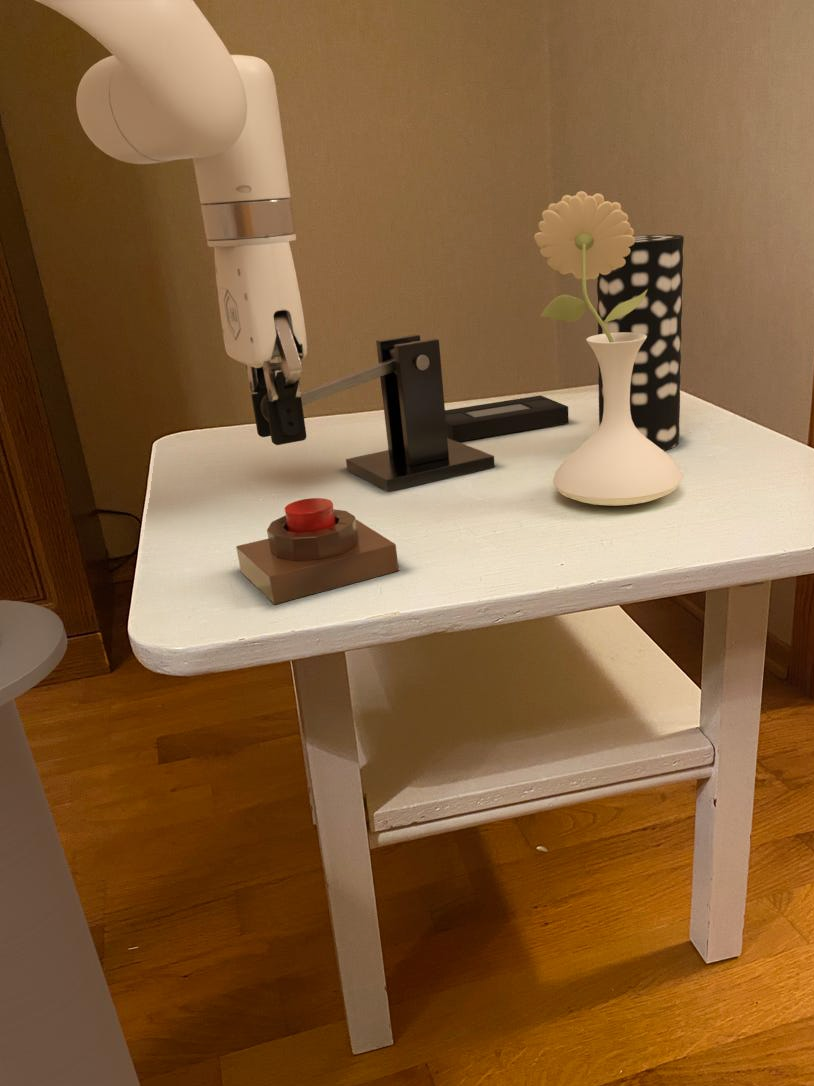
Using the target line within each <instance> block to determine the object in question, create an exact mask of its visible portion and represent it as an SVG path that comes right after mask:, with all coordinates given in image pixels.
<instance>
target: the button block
mask: <svg viewBox="0 0 814 1086" xmlns="http://www.w3.org/2000/svg"><path fill="white" fill-rule="evenodd" d="M333 509H334V516H335V523H336V525H334V526H332V527H330V528H328V529H324V530H320V531H316V532H304V533H297V532H290V531H288V526H287V520H286V514H284V515H283V516H281V517H279V518H277V519H275V520H272V522H270V524H269V526H268V527H267V529H266V532H267V537H268V538H264V539H261V540H260V539H259V540H256V541H252V542H249V543H245V544H240V545H236V547H235V548H236V552H237V559H238V563H239V568H240V569H239V570H240V572H241V574H243V575H244V576H245V577H246V578H247V579H248V580H249V581H250V582H251V583H252V584H253V585H254V587H256V588H257V589H258V590H259V591H260V592H261V593H262V594H263V595H264V596H265V597H266V598H267V599H268V600H269V601H270V602H271V603H272V604H273V605H279V604H283V603H285V602H289V601H294V600H296V599H297V600H298V599H300V598H303V597H304V598H305V597H308V596H312V595H315V594H319V593H322V592H326V591H329V590H334V589H337V588H340V587H344V586H349V585H351V584H355V583H359V582H363V581H366V580H370V579H373V578H377V577H381V576H384V575H388V574H391V573H395V572H399V562H398V554H397V553H398V551H397V545H396V543H395V542H393V541H392V540H389V539H388V538H386V537H385V536H383V535H382V534H380V533H378V532H377V531H376V530H374V529H373V528H371V527H369V526H367V524H365V523H363V522H361V521H359V520H358V519H357V518H356V516H355V515H353V514H352V513H350V512H349V511H347V510H342V509H335V508H333Z"/></svg>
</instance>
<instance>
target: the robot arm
mask: <svg viewBox="0 0 814 1086" xmlns="http://www.w3.org/2000/svg"><path fill="white" fill-rule="evenodd" d="M34 1H35V2H37V3H40V4H42V5H44V6H46V7H48V8H50V9H52V10H53V11H56V12H57V13H59V14H60V15H62V16H63V17H65V18H67V19H69V20H70V21H72V22H73V23H74V24H76V25H77V26H79V27H80V28H82V30H84V31H85V32H87V33H88V34H89V35H90V36H92V37H93V38H94V39H95V40H96V41H97V42H98V43H100V44H101V45H102V46H103V47H104V48H105V49H106V50H107V51H108V52H109V53H110V54H111V55H110V56H107V57H104V58H103V59H100V60H99V61H98V62H96V63H94V64H93V65H92V66H91V67H89V69H88V70H87V71H86V72H85V73H84V74H83V75H82V78H81V80H80V82H79V84H78V87H77V91H76V98H75V100H76V101H75V105H76V107H75V108H76V113H77V117H78V121H79V123H80V125H81V128H82V129H83V132H84V134H85V135H86V136H87V137H88V139H89V140H90V141H91V142H92V143H93V144H94V146H95V147H96V148H98V149H99V150H100V151H102V152H103V153H104V154H106V155H108V156H109V157H110V158H113V159H115V160H117V161H119V162H120V161H121V162H123V163H128V164H132V165H150V164H151V165H152V164H161V163H168V162H173V161H177V160H179V161H180V160H190V159H192V161H193V168H194V173H195V179H196V185H197V190H198V197H199V201H200V208H201V214H202V219H203V225H204V231H205V237H206V242H207V247H208V248H214V267H215V268H214V269H215V270H214V271H215V282H216V291H217V299H218V307H219V313H220V315H219V316H220V322H221V330H222V337H223V344H224V351H225V353H226V354H227V356H229V358H231V359H232V360H234V361H236V362H238V363H241V364H244V365H246V366H245V368H246V371H247V378H248V386H249V390H250V393H251V394H250V395H251V401H252V407H253V414H254V420H255V425H256V427H255V428H256V432H257V433H256V434H257V435H258V436H259V437H261V438H267V437H270V440H271V442H272V444H274V445H275V446H281V445H287V444H292V443H297V442H303V441H305V440H306V439H307V430H306V429H307V428H306V423H305V422H306V421H305V415H304V408H303V407H304V406H302V400H301V392H302V388H301V382H300V380H301V377H302V375H303V374H304V369H303V363H302V361H303V360H304V359H305V358H306V356H307V355H308V342H307V332H306V331H307V330H306V323H305V317H304V310H303V304H302V298H301V291H300V287H299V282H298V277H297V272H296V267H295V262H294V258H293V254H292V249H291V244H290V242H295V241H297V234H296V227H295V219H294V213H293V204H292V199H291V198H292V197H291V191H290V189H291V188H290V181H289V174H288V168H287V159H286V151H285V144H284V137H283V129H282V122H281V115H280V107H279V101H278V92H277V86H276V81H275V75H274V73H273V70H272V68H271V67H270V65H269V64H268V63H267V62H266V61H265V60H264V59H262V58H260V57H257V56H255V55H254V56H253V55H246V54H230V52H229V50H228V49H227V47H226V45H225V43H224V42H223V41H222V39H221V38H220V36H219V35H218V34H217V32H216V30H215V29H214V27H213V26H212V25H211V23H210V21H208V19H207V17H206V16H205V14H204V13H202V10H200V9H201V8H199V6H198V5H197V4H196V2H195V1H194V0H34ZM279 359H280V360H281V362H280V361H279ZM266 393H268V396H269V399H270V400H268V401H265V402H266V408H267V415H268V421H269V422H268V421H267V420H266V419H265V418H264V416H263V415H262V412H261V401H262V398H263V397H264V395H265V394H266Z"/></svg>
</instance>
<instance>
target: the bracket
mask: <svg viewBox="0 0 814 1086" xmlns="http://www.w3.org/2000/svg"><path fill="white" fill-rule="evenodd" d="M413 341H414V342H413ZM391 349H394V353H395V362H396V372H397V374H395V372H392V373H389V374H386V375H384V376H381V377H379V378H380V387H381V396H382V405H383V414H384V422H385V432H386V440H387V449H386V450H383V451H382V450H381V451H378V452H373V453H368V454H363V455H359V456H354V457H349V458H345V464H346V470H347V471H348V472H350V473H352V474H354V475H355V476H357V477H359V478H361V479H363V480H365V481H367V482H368V483H371V484H372V485H374V486H376V487H378V488H380V489H382V490H384V491H385V492H387V493H390V492H394V491H398V490H403V489H407V488H410V487H412V488H413V487H416V486H419V485H420V486H421V485H424V484H429V483H434V482H438V481H441V480H446V479H449V478H454V477H459V476H463V475H467V474H471V473H476V472H480V471H486V470H488V469H489V470H490V469H492V468H495V467H496V466H495V465H496V464H495V456H494V455H493V454H490V453H487V452H485V451H482V450H480V449H477V448H475V447H472V446H470V445H467V444H465V443H462V442H460V441H459V442H457V441H454V440H452V439H449V438H447V429H446V417H445V410H446V407H445V406H446V405H445V395H444V384H443V371H442V360H441V348H440V339H438V338H429V339H423V340H421V335H419V334H409V335H403V336H397V337H391V338H384V339H378V340H376V352H377V360H378V363H381V362H383V361H386V360H389V359H391V357H390V353H389V350H391Z"/></svg>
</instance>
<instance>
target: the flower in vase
mask: <svg viewBox="0 0 814 1086" xmlns="http://www.w3.org/2000/svg"><path fill="white" fill-rule="evenodd" d="M541 217H542V219H543V220H541V221H540V222H538V224H537V225H538V229H539V231H538V232H536V233H535V234H534V236H533V237H534V241H535V242H536V245H537V246H538V247H539V248H540V251H539V253H540V254H541V256H542V257H544V258H548V259H547V261H546V263H547V265H548V266H549V267H551V269H553V271H557V272H559V274H561V275H568V274H569V273H570V274H572V275H573V277H574V278H575V279H577V280H581V282H582V283H581V285H582V295H583V298H584V300H583V299H581V298H578V297H575V296H573V295H569V294H560V295H558V296H556V297H555V298H553V299H552V300H551V301H550V302H548V303H549V304H547V306H546V307H545V308H544V310H543V311H542V312H541V314H540V318H546V319H553V320H557V321H562V322H568V323H569V322H570V323H575V322H577V321H579V320H580V318H582V316H583V315H584V313H585V312H586V311H587V310H588V309H589V311H590V312H591V314H592V315H593V317H594V318H595V320H596V322H597V324H598V323H599V324H600V325H601V327H602V329H603V330H604V332H605V334H599V335H598V334H594V335H591V336H588V337H587V338H586V339H585V341H586V343H587V344H588V346H590V347H591V349H592V351H593V354H594V355H595V357H596V360H597V363H598V362H599V366H600V370H601V375H602V382H603V393H604V412H603V418H602V422H601V425H600V427H599V426H598V428H597V430H596V431H595V432H594V433H593V434H592V436H590V437H589V438H588V439H587V440H586V441H585V442H584V443H583V444H581V445H580V446H579V447H577V449H575V450H574V451H573V452H572V453H571V454H570V455H569V456H568V457H566V459H564V460H563V462H562V463H561V464H560V465H559V466H558V468H557V469H556V471H555V474H554V477H553V478H552V479H553V480H552V483H553V485H554V487H555V488H556V489H557V491H558V492H559V493H560V494H561V495H563V496H564V497H566V498H568V499H572V500H574V501H576V502H577V501H578V502H581V503H585V504H589V505H595V506H615V507H616V506H630V505H637V504H645V503H648V502H651V501H652V502H653V501H655V500H657V499H659V498H663V497H665V496H668V495H670V494H671V493H673V492H674V491H676V490H677V488H678V487H679V486H680V484H681V483H682V481H683V480H684V479H683V478H684V477H683V473H682V471H681V468H680V465H679V464H678V462H676V461H675V460H674V458H673V457H671V456H670V455H669V454H668V453H667V452H666V451H665V450H664V451H663V450H662V449H660V448H659V447H658V446H657V445H655V444H654V443H653V442H651V441H650V440H649V439H647V438H646V437H645V436H644V435H643V434H641V433H640V432H639V431H638V429H637V428H636V427H635V426H634V423H633V421H632V418H631V413H630V384H631V375H632V370H633V365H634V361H635V358H636V355H637V353H638V351H639V349H640V347H641V345H642V344H643V342H644V341H645V340H646V338H647V336H646V335H645V334H641V333H632V332H619V333H610V332H609V330H608V329H607V327H606V325H605V324H604V322H609V321H612V320H614V319H618V318H620V317H623V316H625V315H626V314H628V313H630V312H631V311H632V310H634V309H635V308H636V307H637V306H638V305H639V304H640V303H641V301H642V300H643V298H644V297H645V295H646V292H647V290H648V289H647V290H646V291H645V292H643V293H642V294H641V295H639V296H637V297H635V298H633V299H630V300H628V301H625V302H623V303H621V304H619V305H618V306H616V307H615V308H614V309H613V310H612V311H611V312H610V314H609V315H608V316H607V318H606V319H605V321H604V322H603V321H602V319H601V318H600V317H599V315H598V314H597V310H596V308H595V307H594V306H593V305H592V303H591V300H590V298H589V295H588V291H587V280H597V277H598V276H599V273H601V274H603V275H607V274H609V273H610V272H611V270H615V269H617V268H620V267H622V266H624V265H625V263H626V261H625V259H624V258H623V257H625V256H628V255H629V254H630V248H629V247H630V246H632V245H633V244H634V243H635V238H634V237H633V236H634V233H635V231H634V228H632V227H631V223H630V222H629V215H628V213H626V212H624V211H623V210H622V204H621V203H619V202H617V201H614V202H611V201H609V200H607V201H605V197H604V195H603V194H601V193H595V194H594V195H588V194H587V192H585V191H582V190H580V191H578V192H576V194H575V195H572V196H571V195H570V194H564V195H563V196H562V197H561V199H560V200H559V201H558V202H556V203H553V202H552V203H550V204H549V205H548V207H547V209H545V210H543V211H542V213H541Z"/></svg>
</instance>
